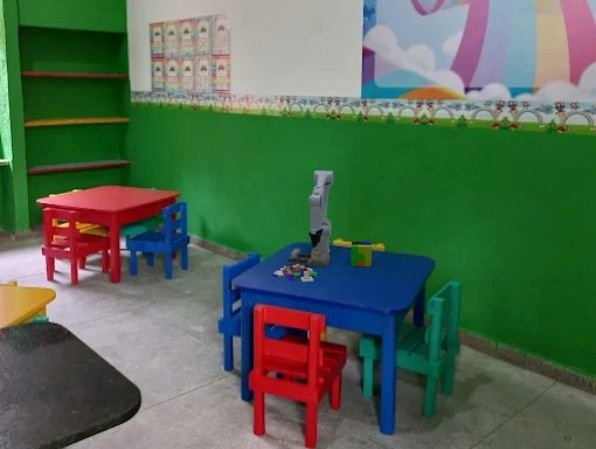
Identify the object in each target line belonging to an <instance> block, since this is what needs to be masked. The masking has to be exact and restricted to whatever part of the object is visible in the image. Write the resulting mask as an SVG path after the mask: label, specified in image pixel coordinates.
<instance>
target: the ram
mask: <svg viewBox="0 0 596 449" xmlns="http://www.w3.org/2000/svg"><path fill="white" fill-rule="evenodd" d="M290 254H291V255H290V258H291V259H298V258H299V257H300V254H301V248H294V249H293V250H292V251H291V253H290Z"/></svg>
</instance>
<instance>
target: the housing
mask: <svg viewBox="0 0 596 449" xmlns="http://www.w3.org/2000/svg"><path fill="white" fill-rule="evenodd" d="M321 253H322V249H315V248H312V249H311V254H310V255H311V261H320V254H321Z"/></svg>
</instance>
